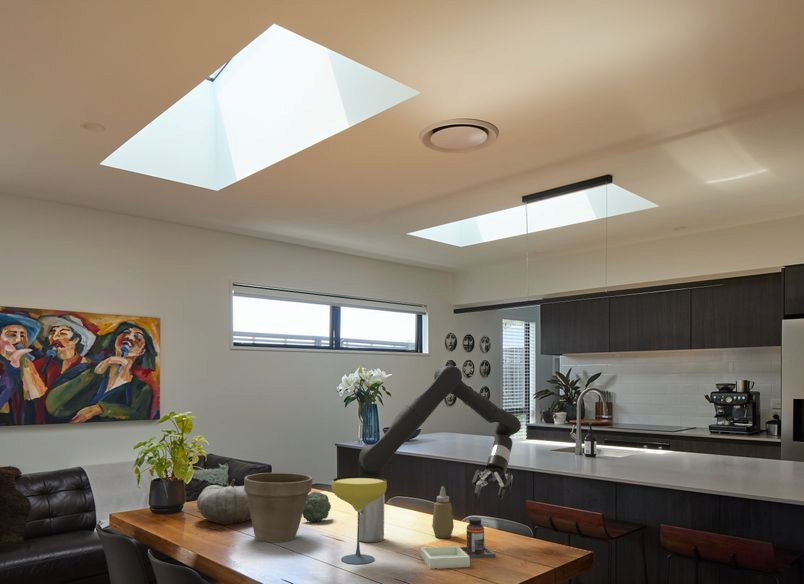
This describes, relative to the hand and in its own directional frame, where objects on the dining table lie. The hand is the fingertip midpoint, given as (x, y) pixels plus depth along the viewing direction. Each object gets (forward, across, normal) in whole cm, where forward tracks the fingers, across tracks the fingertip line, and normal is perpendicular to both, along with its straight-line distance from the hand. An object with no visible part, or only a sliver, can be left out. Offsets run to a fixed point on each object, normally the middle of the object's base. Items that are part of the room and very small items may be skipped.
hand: (487, 496), depth 221 cm
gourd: (+25, -106, -3) cm, 109 cm away
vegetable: (+11, -77, +12) cm, 79 cm away
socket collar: (+20, 0, +3) cm, 20 cm away
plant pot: (+32, -71, -10) cm, 79 cm away
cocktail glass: (+39, -30, -16) cm, 52 cm away
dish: (+30, -5, -7) cm, 31 cm away
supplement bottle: (+20, 0, +3) cm, 21 cm away
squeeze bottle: (+10, -20, +14) cm, 26 cm away
